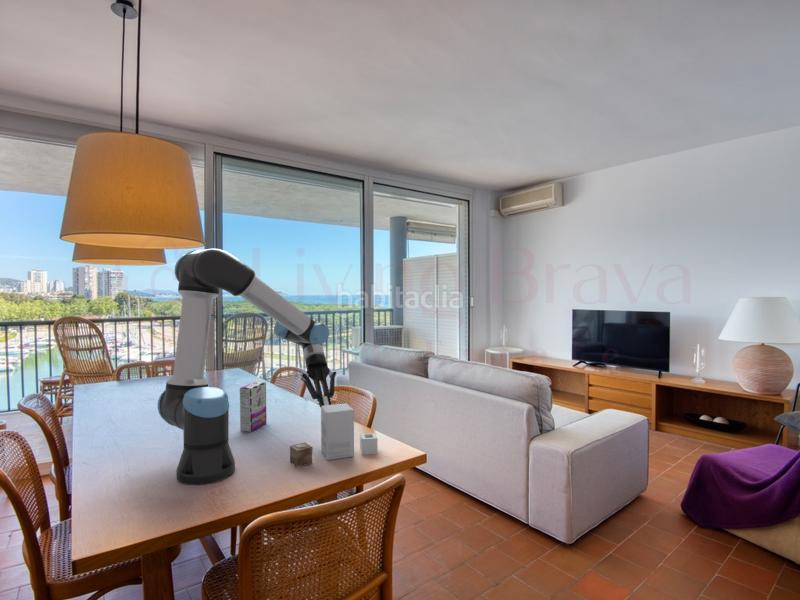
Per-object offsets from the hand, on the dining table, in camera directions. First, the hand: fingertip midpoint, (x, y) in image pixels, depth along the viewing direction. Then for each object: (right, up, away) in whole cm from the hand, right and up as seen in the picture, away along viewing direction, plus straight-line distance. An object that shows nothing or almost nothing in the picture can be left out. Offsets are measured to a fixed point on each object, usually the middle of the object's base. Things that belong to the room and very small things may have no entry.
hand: (327, 414), depth 145 cm
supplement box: (+4, -10, -8) cm, 14 cm away
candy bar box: (-31, -10, +18) cm, 37 cm away
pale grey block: (+14, -10, -6) cm, 18 cm away
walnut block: (-6, -10, -15) cm, 19 cm away
